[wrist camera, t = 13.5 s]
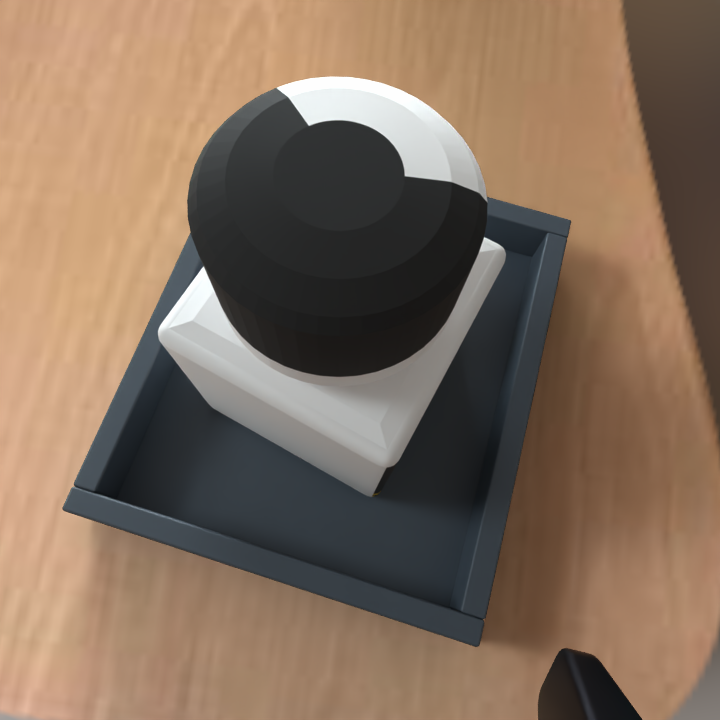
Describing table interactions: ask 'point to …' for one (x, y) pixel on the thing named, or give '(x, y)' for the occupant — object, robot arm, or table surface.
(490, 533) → the tray
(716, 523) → the table surface
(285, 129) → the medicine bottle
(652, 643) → the table surface
